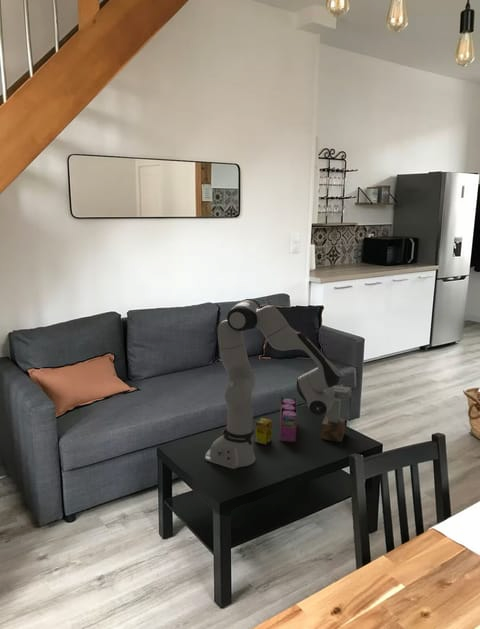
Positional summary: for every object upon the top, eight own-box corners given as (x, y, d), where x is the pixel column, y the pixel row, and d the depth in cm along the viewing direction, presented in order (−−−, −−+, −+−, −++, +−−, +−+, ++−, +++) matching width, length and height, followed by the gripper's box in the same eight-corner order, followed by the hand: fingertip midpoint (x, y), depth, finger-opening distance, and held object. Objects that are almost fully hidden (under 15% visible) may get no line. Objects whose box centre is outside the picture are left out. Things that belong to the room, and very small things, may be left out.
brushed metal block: (327, 422, 249) (328, 399, 246) (329, 418, 254) (330, 396, 251) (337, 424, 247) (339, 400, 245) (339, 420, 252) (340, 397, 250)
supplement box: (265, 446, 241) (266, 424, 238) (254, 443, 244) (255, 421, 241) (271, 441, 246) (272, 420, 243) (260, 438, 249) (261, 417, 246)
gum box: (280, 420, 270) (281, 396, 267) (295, 421, 269) (296, 397, 266) (279, 441, 246) (280, 414, 243) (296, 442, 246) (297, 415, 243)
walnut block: (320, 438, 250) (321, 423, 248) (324, 430, 259) (325, 415, 257) (341, 442, 246) (342, 426, 245) (344, 433, 256) (345, 418, 254)
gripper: (350, 391, 214) (354, 381, 227) (302, 385, 221) (309, 375, 234) (349, 405, 215) (353, 394, 228) (301, 398, 222) (308, 388, 235)
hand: (330, 384), depth 231 cm, fingers open, 8 cm apart
